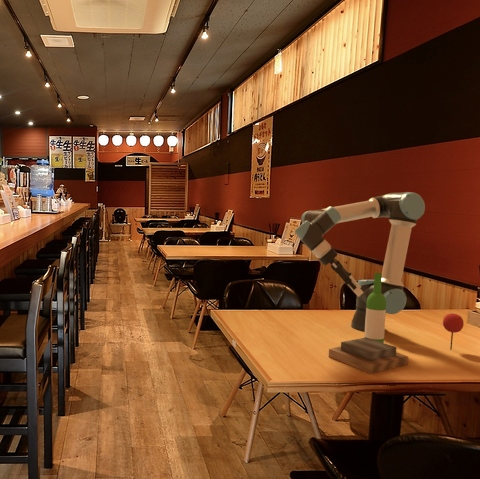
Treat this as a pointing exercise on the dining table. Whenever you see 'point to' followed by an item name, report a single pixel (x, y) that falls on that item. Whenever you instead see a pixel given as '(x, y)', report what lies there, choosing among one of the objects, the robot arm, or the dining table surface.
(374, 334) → the wine bottle
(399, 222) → the robot arm
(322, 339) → the dining table surface
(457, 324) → the lollipop
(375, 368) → the plinth
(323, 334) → the dining table surface
